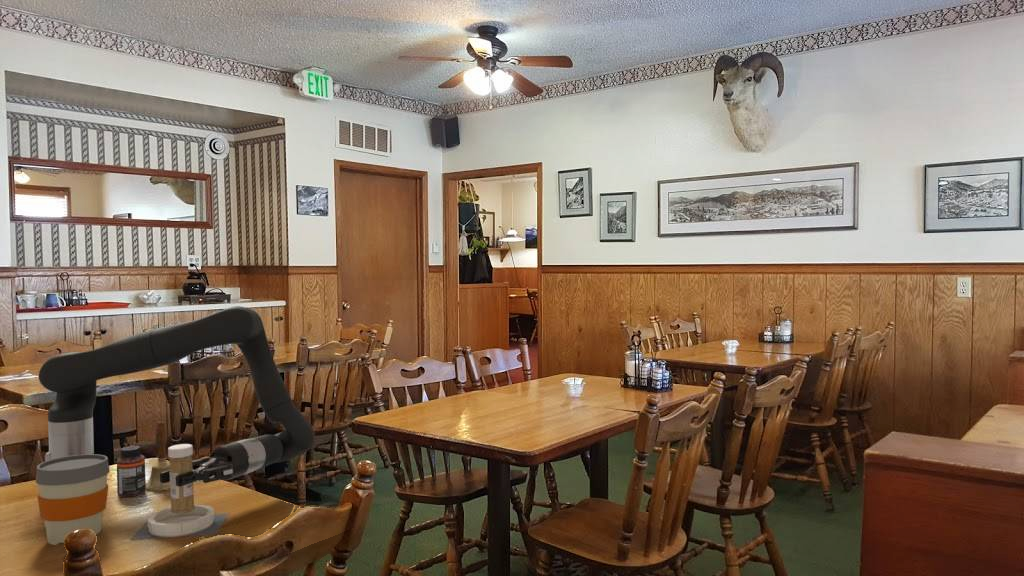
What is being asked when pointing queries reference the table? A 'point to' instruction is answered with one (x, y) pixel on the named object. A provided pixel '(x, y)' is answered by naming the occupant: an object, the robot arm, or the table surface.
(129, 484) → the supplement bottle
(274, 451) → the robot arm
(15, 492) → the table surface
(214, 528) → the mat
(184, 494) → the sprinkles bottle
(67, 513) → the reusable coffee cup
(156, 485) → the hand bell
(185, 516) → the white round tray
